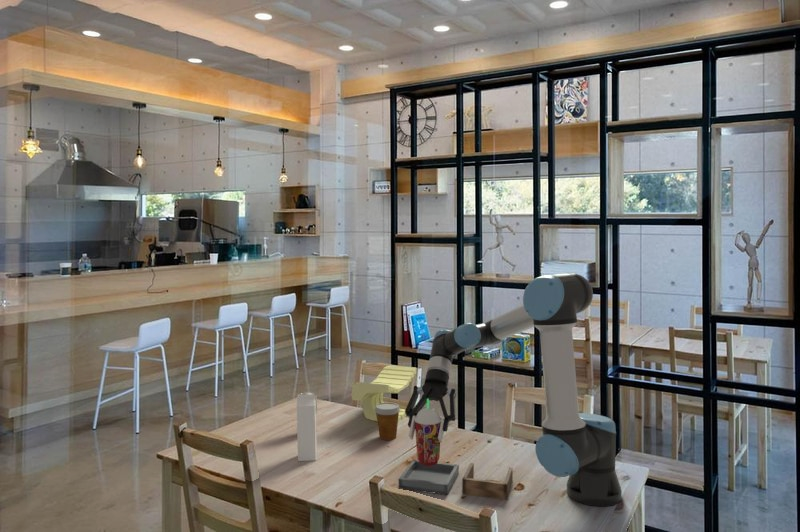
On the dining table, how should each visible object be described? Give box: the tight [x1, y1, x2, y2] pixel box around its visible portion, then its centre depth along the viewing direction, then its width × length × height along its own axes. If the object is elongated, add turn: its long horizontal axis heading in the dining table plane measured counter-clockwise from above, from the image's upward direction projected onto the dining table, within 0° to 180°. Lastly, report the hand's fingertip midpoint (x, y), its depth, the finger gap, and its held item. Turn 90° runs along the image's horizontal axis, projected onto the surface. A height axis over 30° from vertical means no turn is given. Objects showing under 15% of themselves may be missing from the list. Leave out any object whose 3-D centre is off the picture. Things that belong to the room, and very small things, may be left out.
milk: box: [296, 394, 318, 462], centre depth 196 cm, size 6×6×22 cm
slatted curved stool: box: [351, 364, 417, 423], centre depth 239 cm, size 30×16×18 cm, turn 158°
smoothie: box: [414, 399, 442, 466], centre depth 176 cm, size 8×8×20 cm
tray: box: [398, 459, 460, 496], centre depth 177 cm, size 15×15×3 cm
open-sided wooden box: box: [461, 462, 514, 501], centre depth 171 cm, size 13×12×4 cm
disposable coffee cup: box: [375, 401, 401, 441], centre depth 215 cm, size 10×10×12 cm
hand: (425, 438), depth 173 cm, fingers closed on smoothie, 8 cm apart
